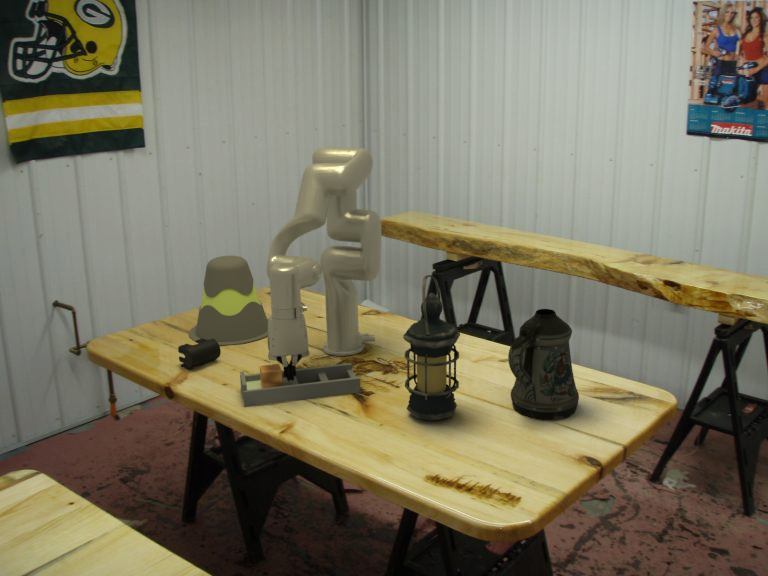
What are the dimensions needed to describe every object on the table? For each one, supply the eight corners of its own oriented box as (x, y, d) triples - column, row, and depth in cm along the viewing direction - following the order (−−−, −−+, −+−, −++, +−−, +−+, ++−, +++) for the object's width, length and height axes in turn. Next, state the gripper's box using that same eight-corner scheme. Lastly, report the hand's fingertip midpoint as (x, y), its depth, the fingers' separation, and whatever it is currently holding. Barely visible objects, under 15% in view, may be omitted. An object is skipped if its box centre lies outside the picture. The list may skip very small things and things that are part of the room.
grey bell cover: (170, 335, 250) (162, 262, 243) (233, 311, 272) (228, 244, 265) (232, 352, 235) (225, 275, 228) (293, 325, 256) (289, 254, 250)
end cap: (193, 373, 220) (191, 350, 218) (178, 367, 224) (176, 345, 222) (222, 362, 227) (220, 340, 225) (206, 356, 231) (205, 335, 229)
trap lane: (351, 376, 215) (351, 357, 213) (360, 392, 204) (359, 373, 203) (241, 389, 208) (239, 370, 206) (244, 406, 198) (242, 386, 196)
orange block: (279, 381, 206) (278, 363, 205) (282, 388, 202) (281, 370, 200) (260, 383, 205) (259, 366, 204) (263, 391, 200) (262, 373, 199)
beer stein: (583, 398, 198) (589, 304, 191) (568, 431, 181) (573, 329, 174) (519, 388, 205) (522, 297, 198) (499, 419, 188) (501, 321, 181)
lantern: (452, 430, 183) (453, 286, 173) (397, 423, 187) (395, 283, 177) (464, 404, 196) (465, 270, 186) (413, 399, 200) (412, 267, 190)
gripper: (312, 305, 204) (315, 370, 210) (255, 310, 201) (259, 376, 206) (318, 313, 197) (321, 380, 203) (258, 319, 194) (263, 387, 199)
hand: (290, 378), depth 204 cm, fingers closed
